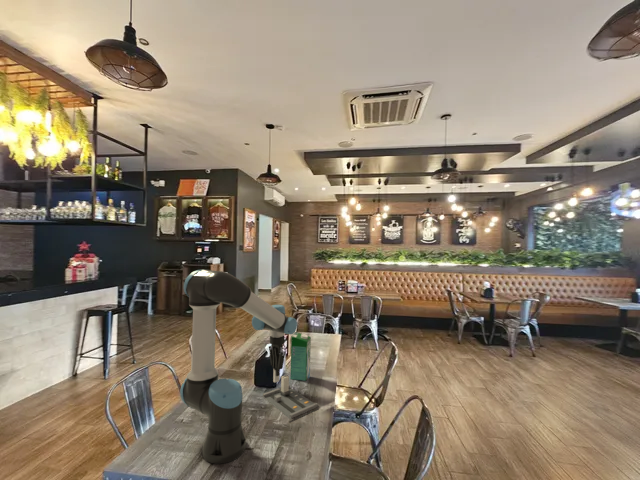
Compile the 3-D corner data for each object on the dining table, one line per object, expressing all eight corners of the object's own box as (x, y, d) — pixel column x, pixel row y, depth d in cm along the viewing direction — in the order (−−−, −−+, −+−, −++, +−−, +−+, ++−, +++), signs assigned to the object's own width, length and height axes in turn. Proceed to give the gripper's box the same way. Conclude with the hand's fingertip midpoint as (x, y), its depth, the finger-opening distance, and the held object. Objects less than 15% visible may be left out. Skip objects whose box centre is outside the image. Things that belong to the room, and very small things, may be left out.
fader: (284, 395, 143) (284, 378, 143) (279, 392, 146) (279, 375, 147) (290, 393, 145) (290, 376, 145) (285, 389, 149) (285, 373, 149)
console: (290, 422, 125) (290, 414, 125) (261, 399, 143) (261, 392, 143) (318, 409, 135) (319, 401, 135) (288, 389, 153) (289, 382, 154)
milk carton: (306, 383, 161) (307, 337, 161) (290, 381, 162) (291, 336, 163) (310, 376, 169) (310, 332, 170) (294, 374, 171) (295, 331, 172)
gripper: (290, 337, 150) (289, 383, 149) (276, 331, 160) (275, 375, 159) (277, 340, 145) (276, 388, 144) (264, 333, 155) (263, 379, 154)
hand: (276, 381), depth 152 cm, fingers closed
